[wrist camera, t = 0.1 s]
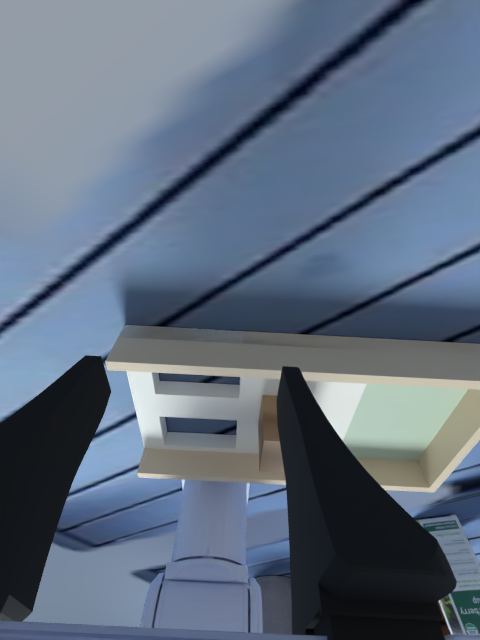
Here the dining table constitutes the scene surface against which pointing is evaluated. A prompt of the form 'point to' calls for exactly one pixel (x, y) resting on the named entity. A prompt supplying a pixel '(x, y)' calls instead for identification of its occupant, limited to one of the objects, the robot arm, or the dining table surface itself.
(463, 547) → the syrup box
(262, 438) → the walnut block
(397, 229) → the dining table surface
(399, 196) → the dining table surface
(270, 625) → the pillar candle
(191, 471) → the board
